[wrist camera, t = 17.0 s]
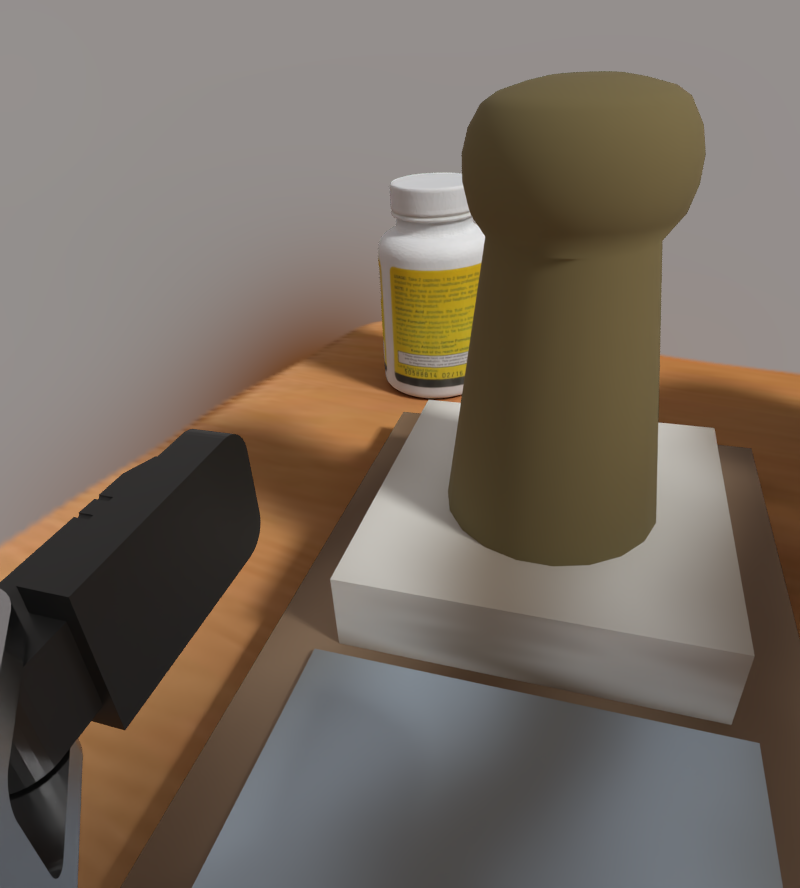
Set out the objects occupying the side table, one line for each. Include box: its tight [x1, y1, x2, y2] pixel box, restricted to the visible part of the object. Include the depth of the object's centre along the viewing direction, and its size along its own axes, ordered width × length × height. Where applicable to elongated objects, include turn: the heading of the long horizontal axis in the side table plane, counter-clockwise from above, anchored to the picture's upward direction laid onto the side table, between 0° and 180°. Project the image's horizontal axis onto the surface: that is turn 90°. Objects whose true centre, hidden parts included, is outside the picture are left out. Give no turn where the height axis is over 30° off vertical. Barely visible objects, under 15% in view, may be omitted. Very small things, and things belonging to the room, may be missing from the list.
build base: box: [120, 400, 800, 888], centre depth 19 cm, size 14×22×4 cm, turn 163°
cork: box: [448, 71, 706, 566], centre depth 17 cm, size 6×6×11 cm
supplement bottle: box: [378, 172, 485, 398], centre depth 33 cm, size 5×5×10 cm
